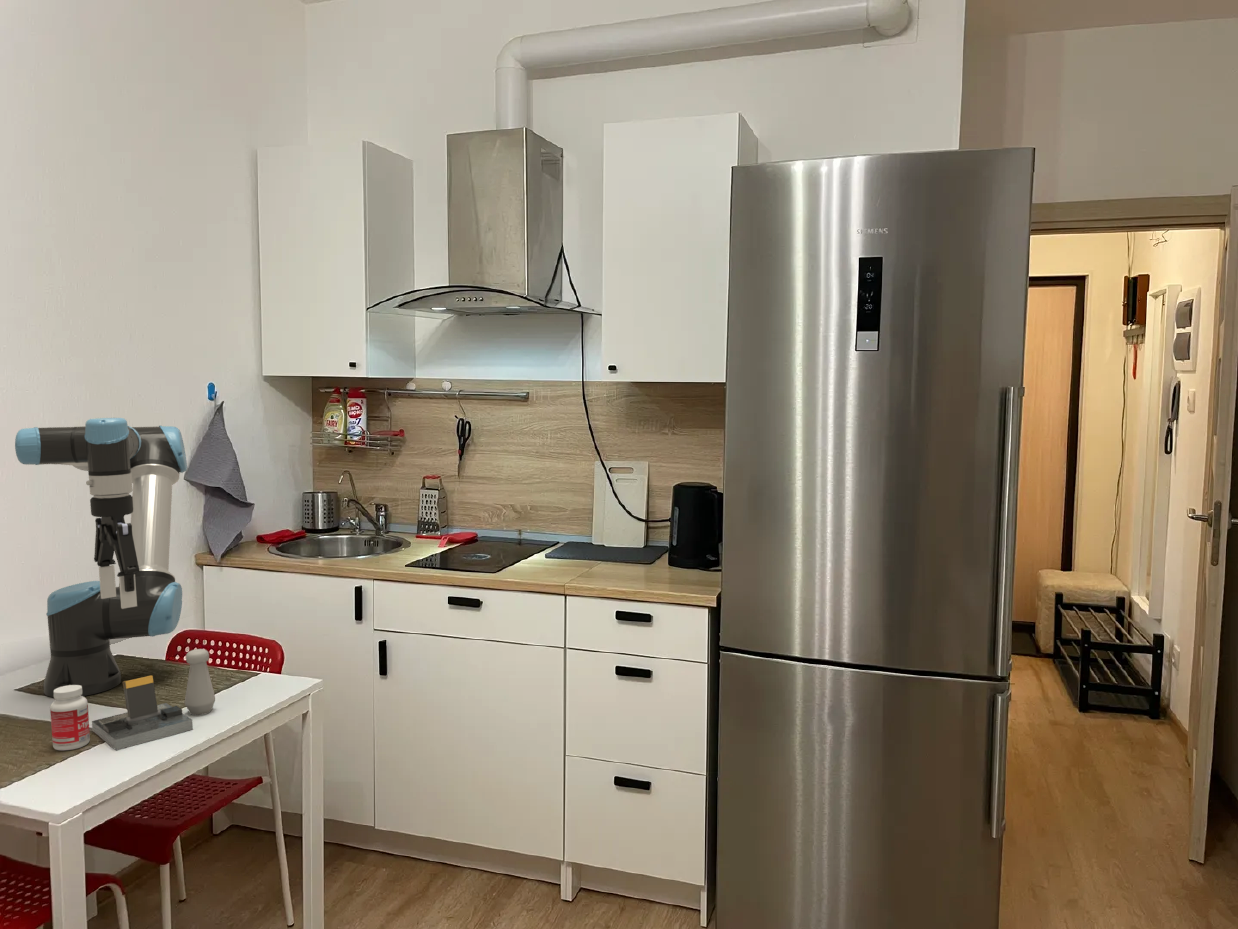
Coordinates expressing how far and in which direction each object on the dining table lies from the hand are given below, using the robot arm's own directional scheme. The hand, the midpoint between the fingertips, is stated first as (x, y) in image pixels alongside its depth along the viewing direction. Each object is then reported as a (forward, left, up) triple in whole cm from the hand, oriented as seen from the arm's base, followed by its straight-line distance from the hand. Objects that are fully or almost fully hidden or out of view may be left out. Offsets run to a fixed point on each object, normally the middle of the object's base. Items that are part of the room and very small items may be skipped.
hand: (118, 602), depth 191 cm
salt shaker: (+8, +12, -24) cm, 28 cm away
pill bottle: (+8, -12, -24) cm, 28 cm away
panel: (+10, 0, -24) cm, 26 cm away
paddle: (+11, 0, -21) cm, 24 cm away
